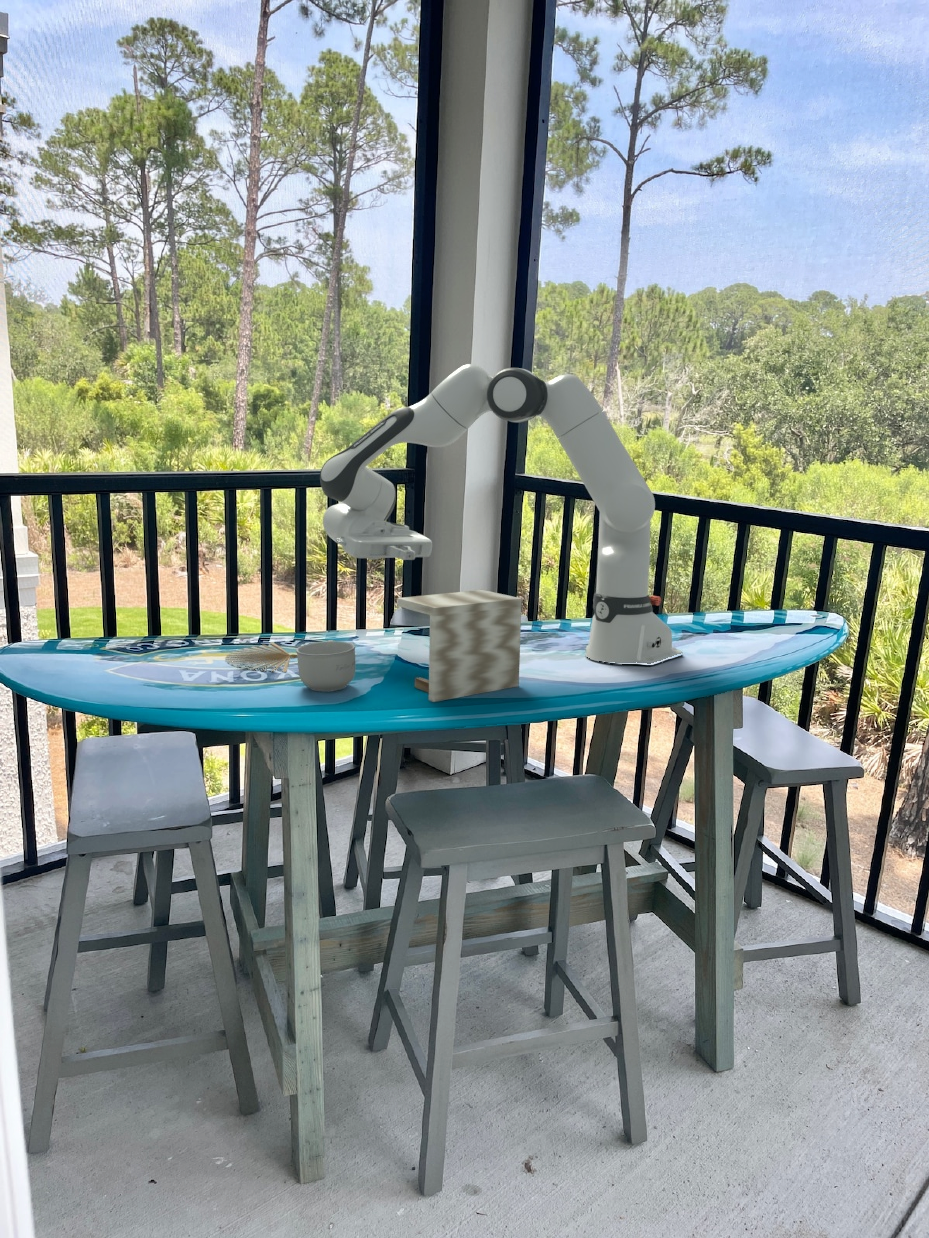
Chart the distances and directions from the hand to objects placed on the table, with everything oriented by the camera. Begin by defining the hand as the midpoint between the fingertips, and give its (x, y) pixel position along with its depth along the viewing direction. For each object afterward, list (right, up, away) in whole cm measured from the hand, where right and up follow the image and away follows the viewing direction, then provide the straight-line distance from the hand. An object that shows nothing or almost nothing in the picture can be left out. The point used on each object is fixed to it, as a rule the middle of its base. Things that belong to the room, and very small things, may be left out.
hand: (409, 556), depth 185 cm
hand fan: (-31, -22, +4) cm, 38 cm away
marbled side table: (+10, -26, -16) cm, 32 cm away
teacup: (-14, -26, -17) cm, 34 cm away
